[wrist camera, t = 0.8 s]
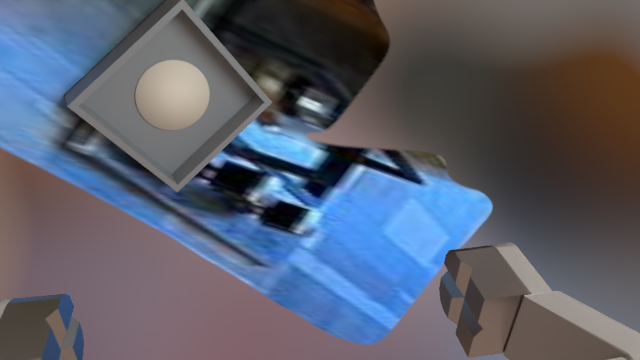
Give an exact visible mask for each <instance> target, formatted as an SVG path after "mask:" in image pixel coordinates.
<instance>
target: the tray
mask: <svg viewBox="0 0 640 360" xmlns="http://www.w3.org/2000/svg"><path fill="white" fill-rule="evenodd" d="M165 60H181V61H185V62H188V63H190V64H192V65H193V66H195V67H196V68H197V69H199V70H200V71H201V73H202V74H203V75H204V77H205V78H206V80H207V83H208V86H209V92H210V96H209V103H208V106H207V108H206V110H205V112H204V113H203V115H202V116H201V117H200V118H199V119H198V120H197V121H196V122H195V123H193V124H192V125H190V126H188V127H186V128H183V129H179V130H164V129H160V128H157V127H155V126H153V125H151V124H150V123H149V122H147V121H146V120H145V119H144V118H143V116H142V115H141V113H140V112H139V110H138V108H137V105H136V100H135V91H136V86H137V83H138V81H139V79H140V77H141V76H142V74H143V73H144V72H145V71H146V70H147V69H148V68H150V67H151V66H153V65H154V64H156V63H158V62H161V61H165ZM64 95H65V99H66V104H67V107H69V108H70V109H71V110H72V111H74V112H75V113H76V114H78V115H79V116H80V117H81V118H83V119H84V120H85V121H87V122H88V123H89V124H90V125H92V126H93V127H94V128H95V129H97V130H98V131H99V132H101V133H102V134H103V135H104V136H106V137H107V138H108V139H110V140H111V141H112V142H113V143H115V144H116V145H117V146H119V147H120V148H121V149H122V150H124V151H125V152H126V153H128V154H129V155H130V156H131V157H133V158H134V159H135V160H137V161H138V162H139V163H140V164H142V165H143V166H144V167H146V168H147V169H148V170H149V171H151V172H152V173H153V174H155V175H156V176H157V177H158V178H160V179H161V180H162V181H164V182H165V183H166V184H167V185H169V186H170V187H171V188H173V189H174V190H175V191H176V192H178V191H179V190H180V189H181V188H182V187H183V186H184V185H186V184H187V183H188V182H189V181H190V180H191V179H192V178H193V177H194V176H195V175H196V174H197V173H198V172H199V171H200V170H201V169H202V168H203V167H205V166H206V165H207V164H208V163H209V162H210V161H211V160H212V159H213V158H214V157H215V156H216V155H217V154H218V153H219V152H220V151H221V150H222V149H224V148H225V147H226V146H227V145H228V144H229V143H230V142H231V141H232V140H233V139H234V138H235V137H236V136H237V135H238V134H239V133H240V132H241V131H243V130H244V129H245V128H246V127H247V126H248V125H249V124H250V123H251V122H252V121H253V120H254V119H255V118H256V117H257V116H258V115H259V114H260V113H262V112H263V111H264V110H265V109H266V108H267V107H268V106H269V105H270V104H271V103H272V101H271V100H270V99H269V98H268V97H267V96H266V95H265V93H264V92H263V91H262V90H261V89H260V88H259V86H258V85H257V84H256V83H255V82H254V81H253V80H252V78H251V77H250V76H249V75H248V74H247V73H246V71H245V70H244V69H243V68H242V67H241V66H240V65H239V63H238V62H237V61H236V60H235V59H234V58H233V56H232V55H231V54H230V53H229V52H228V51H227V50H226V48H225V47H224V46H223V45H222V44H221V43H220V41H219V40H218V39H217V38H216V37H215V36H214V35H213V33H212V32H211V31H210V30H209V29H208V28H207V26H206V25H205V24H204V23H203V22H202V21H201V20H200V18H199V17H198V16H197V15H196V14H195V13H194V11H193V10H192V9H191V8H190V7H189V6H188V5H187V3H186V2H185V1H184V0H165V1H164V2H163V3H162V4H161V5H160V6H159V7H158V8H157V9H156V10H155V11H154V12H152V13H151V14H150V15H149V16H148V17H147V18H146V19H145V20H144V21H143V22H142V23H141V24H140V25H138V26H137V27H136V28H135V29H134V30H133V31H132V32H131V33H130V34H129V35H128V36H127V37H126V38H125V39H123V40H122V41H121V42H120V43H119V44H118V45H117V46H116V47H115V48H114V49H113V50H112V51H111V52H110V53H108V54H107V55H106V56H105V57H104V58H103V59H102V60H101V61H100V62H99V63H98V64H97V65H96V66H95V67H93V68H92V69H91V70H90V71H89V72H88V73H87V74H86V75H85V76H84V77H83V78H82V79H81V80H79V81H78V82H77V83H76V84H75V85H74V86H73V87H72V88H71V89H70V90H69V91H68V92H67V93H66V94H64Z"/></svg>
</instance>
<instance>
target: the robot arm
mask: <svg viewBox="0 0 640 360" xmlns="http://www.w3.org/2000/svg"><path fill="white" fill-rule="evenodd" d="M444 264H445V266H446V267H447V269H448V271H447V272H446V273H445V274H444V275H443V276H442V277H441V281H440V287H439V290H440V300H441V304H442V307H443V310H444V312H445V314H446V316H447V318H448V319H450V320H451V321H453V322H454V323H456V324H457V329H456V335H457V337H458V339H459V341H460V343H461V345H462V347H463V349H464V351H465V353H466V354H467V356H468V357H476V356H485V355H493V354H500V353H504V356H506V357H507V358H508V359H509V360H640V334H639V333H638V332H636V331H634V330H632V329H630V328H628V327H626V326H624V325H622V324H621V323H619V322H617V321H615V320H613V319H611V318H609V317H607V316H605V315H604V314H602V313H599V312H598V311H596V310H594V309H592V308H590V307H588V306H586V305H584V304H582V303H581V302H579V301H577V300H575V299H573V298H571V297H569V296H567V295H565V294H564V293H562V292H560V291H554V292H552V290H551V289H550V288H549V287H548V285H547V284H546V283H545V282H544V280H543V279H542V278H541V276H540V275H539V274H538V273H537V272H536V270H535V269H534V268H533V267H532V265H531V264H530V263H529V261H528V260H527V259H526V258H525V256H524V255H523V254H522V253H521V251H520V250H519V249H518V247H517V246H516V245H514V244H512V243H503V244H495V245H490V246H481V247H472V248H464V249H456V250H449V251H448V253H447V254H446V257H445V262H444ZM73 308H74V306H73V303H72V300H71V298H70V296H69V295H67V294H58V295H47V296H36V297H25V298H14V299H10V300H0V360H82V359H83V349H84V348H83V347H84V339H83V332H82V328H81V325H80V322H79V321H77V320H75V319H74V318H72V317H71V316H72V312H73Z"/></svg>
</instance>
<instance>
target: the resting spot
mask: <svg viewBox="0 0 640 360" xmlns="http://www.w3.org/2000/svg"><path fill="white" fill-rule="evenodd" d="M209 96H210V92H209V86H208V83H207V80H206V78H205V77H204V75H203V74H202V73H201V71H200V70H199V69H197V68H196V67H195V66H193V65H192V64H190V63H188V62H185V61H181V60H165V61H161V62H158V63H156V64H154V65H153V66H151V67H150V68H148V69H147V70H146V71H145V72H144V73H143V74H142V76H141V77H140V79H139V81H138V83H137V86H136V91H135V100H136V105H137V108H138V110H139V112H140V113H141V115H142V116H143V118H144V119H145V120H146V121H147V122H149V123H150V124H151V125H153V126H155V127H157V128H160V129H164V130H179V129H183V128H186V127H188V126H190V125H192V124H193V123H195V122H196V121H197V120H198V119H199V118H200V117H201V116H202V115H203V113H204V112H205V110H206V108H207V106H208V103H209Z"/></svg>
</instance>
